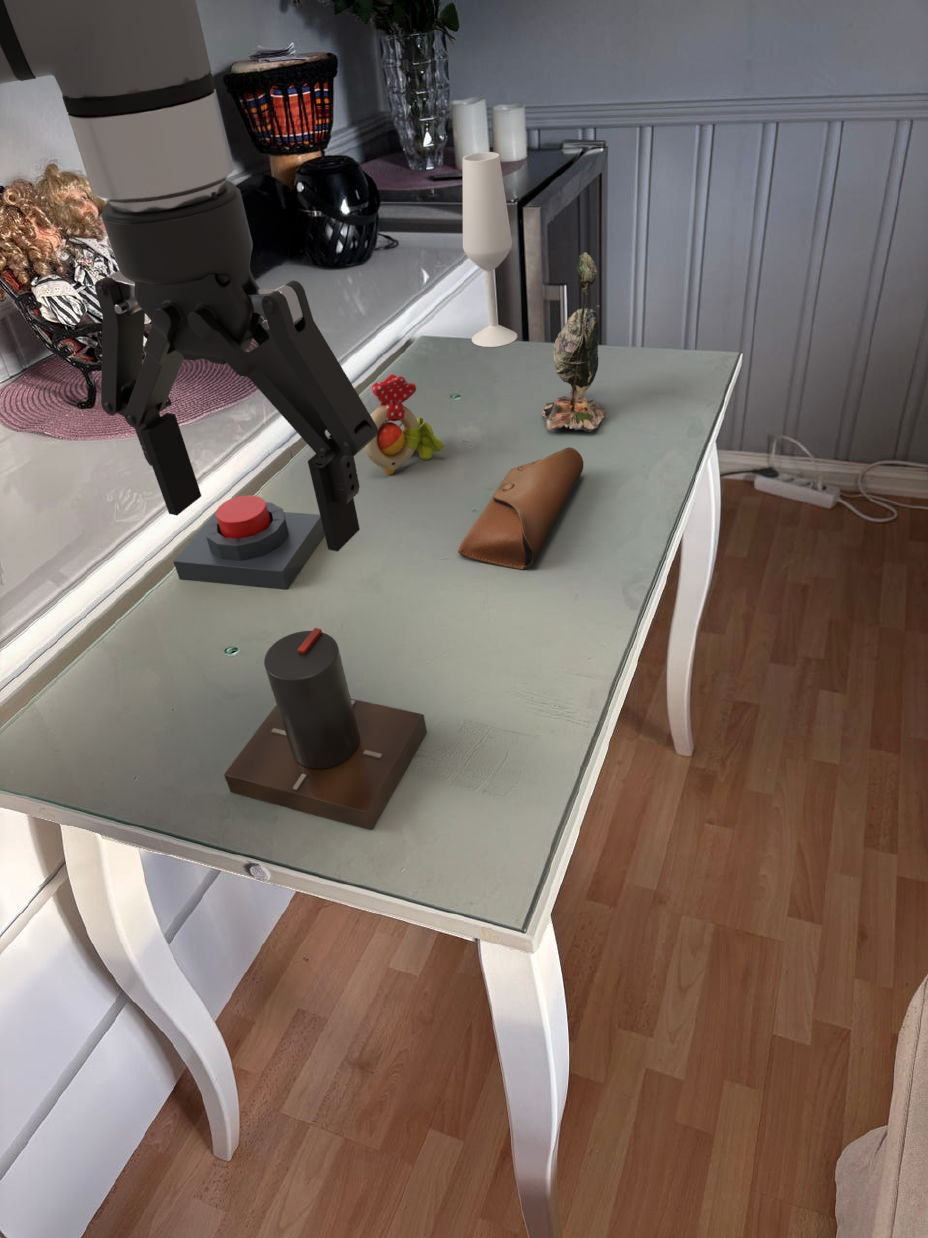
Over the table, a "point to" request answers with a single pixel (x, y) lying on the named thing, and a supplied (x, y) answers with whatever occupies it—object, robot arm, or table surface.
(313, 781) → the knob panel
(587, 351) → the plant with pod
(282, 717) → the dial
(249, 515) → the button
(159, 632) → the table surface
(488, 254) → the champagne flute
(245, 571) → the button box
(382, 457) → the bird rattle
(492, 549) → the sunglasses case
